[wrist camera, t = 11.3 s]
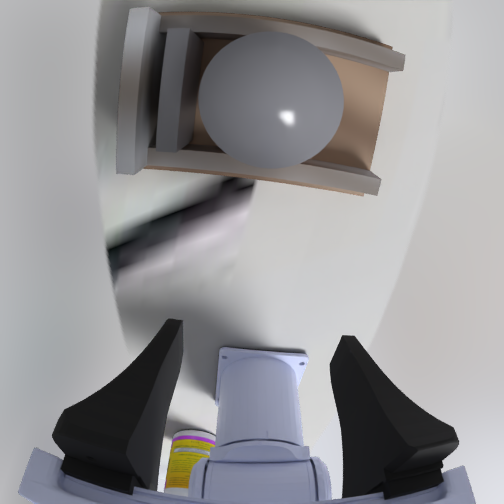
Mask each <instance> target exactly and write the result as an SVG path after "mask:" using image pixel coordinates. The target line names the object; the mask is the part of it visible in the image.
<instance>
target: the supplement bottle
mask: <svg viewBox="0 0 504 504" xmlns="http://www.w3.org/2000/svg"><path fill="white" fill-rule="evenodd" d="M215 440H216V437H215V436H214V435H212V434H209V433H207V432H203V431H197V430H184V431H180V432H177V433H176V434H175V435H174V436H173V440H172V445H171V451H170V457H169V463H168V469H167V475H166V482H165V488H164V493H168V494H173V495H179V496H186V497H188V488H189V480H190V475H191V471H192V468H193V466H194V465H195V464H196V463H197V462H198V461H199V460H200V459H201V458H209V457H210V447H215Z"/></svg>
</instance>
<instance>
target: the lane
mask: <svg viewBox="0 0 504 504" xmlns="http://www.w3.org/2000/svg"><path fill="white" fill-rule="evenodd" d="M171 28H190V29H191V30H192V31H193V32H194V33H195V34H196V35H197V36H198V37H199V38H200V39H201V40H202V41H203V42H204V46H203V53H202V60H201V68H200V76H199V84H198V93H197V102H196V111H195V121H194V132H193V140H192V141H191V142H190V143H188V144H187V145H186V146H184V147H183V148H182V149H180V150H179V151H178V152H177V153H172V152H157V151H156V136H157V121H158V108H159V97H160V86H161V77H162V68H163V60H164V52H165V45H166V38H167V31H168V29H171ZM267 31H268V32H282V33H288V34H291V35H295V36H297V37H300V38H302V39H304V40H306V41H308V42H310V43H311V44H313V45H314V46H316V47H317V48H318V49H319V50H321V51H322V52H323V53H324V54H325V55H326V56H327V57H328V59H329V60H330V61H331V63H332V64H333V66H334V67H335V69H336V71H337V73H338V75H339V78H340V80H341V84H342V88H343V95H344V108H343V114H342V118H341V121H340V125H339V127H338V129H337V131H336V133H335V135H334V136H333V138H332V139H331V141H330V142H329V143H328V144H327V145H326V146H325V147H324V148H323V149H322V150H321V151H320V152H319V153H318V154H316V155H315V156H313V157H312V158H310V159H308V160H306V161H304V162H302V163H299V164H297V165H294V166H290V167H285V168H277V169H272V168H259V167H255V166H251V165H247V164H245V163H242V162H240V161H238V160H236V159H234V158H232V157H231V156H229V155H228V154H227V153H225V152H224V151H223V150H222V149H221V148H219V147H218V146H217V144H216V143H215V142H214V141H213V140H212V138H211V137H210V135H209V134H208V132H207V131H206V128H205V126H204V124H203V122H202V119H201V115H200V110H199V100H198V96H199V87H200V83H201V79H202V77H203V74H204V72H205V70H206V68H207V66H208V64H209V63H210V61H211V60H212V59H213V58H214V56H215V55H216V54H217V53H218V52H219V51H220V50H221V49H222V48H224V47H225V46H226V45H228V44H229V43H231V42H233V41H234V40H236V39H238V38H240V37H243V36H246V35H249V34H253V33H257V32H267ZM404 62H405V55H404V54H402V53H399V52H396V51H393V50H392V47H391V46H389V45H386V44H383V43H380V42H377V41H373V40H370V39H367V38H364V37H360V36H357V35H353V34H350V33H346V32H342V31H338V30H334V29H330V28H326V27H322V26H317V25H312V24H307V23H302V22H297V21H291V20H285V19H279V18H272V17H264V16H256V15H246V14H235V13H219V12H159V13H157V12H156V11H155V10H153V9H152V8H151V7H139V8H130V11H129V17H128V23H127V29H126V35H125V42H124V50H123V58H122V67H121V76H120V88H119V101H118V118H117V149H116V174H130V175H135V174H136V173H137V172H139V171H140V170H141V169H157V170H170V171H182V172H194V173H204V174H214V175H223V176H232V177H241V178H249V179H257V180H265V181H272V182H279V183H286V184H293V185H300V186H306V187H312V188H319V189H325V190H331V191H336V192H342V193H348V194H353V195H358V196H364V193H366V194H371V195H376V196H377V194H378V191H379V187H380V183H381V179H380V178H379V177H378V176H376V175H375V174H374V173H372V172H371V171H370V167H371V163H372V159H373V154H374V150H375V145H376V140H377V136H378V131H379V126H380V121H381V115H382V110H383V105H384V99H385V93H386V87H387V81H388V75H389V72H395V71H403V69H404Z"/></svg>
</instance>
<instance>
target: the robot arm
mask: <svg viewBox="0 0 504 504" xmlns="http://www.w3.org/2000/svg"><path fill="white" fill-rule="evenodd" d="M182 356H183V320H176V319H168V320H166V322H165V323H164V325H163V326H162V328H161V329H160V331H159V332H158V333H157V335H156V336H155V337H154V338H153V340H152V341H151V342H150V343H149V345H148V346H147V347H146V348H145V349H144V350H143V352H142V353H141V354H140V355H139V356H138V357H137V358H136V359H135V360H134V361H133V362H132V363H131V364H130V365H129V366H128V367H127V368H126V369H125V370H124V371H123V372H122V373H121V374H119V375H118V376H117V377H116V378H115V379H113V380H112V381H111V382H110V383H108V384H107V385H106V386H104V387H103V388H102V389H100V390H99V391H97V392H95V393H94V394H92V395H91V396H89V397H88V398H86V399H84V400H82V401H80V402H78V403H77V404H75V405H73V406H71V407H69V408H67V409H65V410H64V411H63V413H62V414H61V416H60V418H59V419H58V422H57V424H56V427H55V429H54V431H53V434H52V438H53V440H54V441H55V443H56V444H57V445H58V447H59V448H60V449H61V450H62V451H63V452H64V454H65V457H64V460H62V459H60V458H59V457H57V456H54V455H52V454H50V453H47V452H45V451H42V450H40V449H38V448H34V449H33V452H32V454H31V457H30V459H29V462H28V465H27V468H26V470H25V473H24V476H23V479H22V482H21V484H20V487H19V491H18V493H19V495H21V496H23V497H24V498H26V499H27V500H29V501H30V502H32V503H34V504H476V502H475V499H474V495H473V492H472V488H471V485H470V482H469V479H468V476H467V473H466V470H465V467H464V466H460V467H457V468H454V469H451V470H448V471H446V472H444V473H441V468H443V463H442V460H444V459H445V458H446V457H447V456H448V455H450V454H451V453H452V452H453V451H454V450H455V449H456V448H457V447H458V445H459V440H458V437H457V435H456V432H455V430H454V428H453V427H452V426H450V425H448V424H446V423H444V422H442V421H440V420H438V419H436V418H435V417H434V416H432V415H430V414H429V413H427V412H426V411H424V410H423V409H422V408H420V407H419V406H418V405H416V404H415V403H414V402H413V401H412V400H410V399H409V398H408V397H407V396H406V395H405V394H403V392H401V391H400V390H399V389H398V388H397V387H396V386H395V385H394V384H393V383H392V382H391V380H390V379H389V378H388V377H387V376H386V375H385V374H384V373H383V371H382V370H381V369H380V368H379V367H378V365H377V364H376V363H375V362H374V360H373V359H372V358H371V357H370V355H369V354H368V353H367V351H366V350H365V349H364V348H363V346H362V345H361V344H360V342H359V341H358V340H357V339H356V337H355V336H347V335H342V337H341V340H340V342H339V344H338V347H337V349H336V351H335V353H334V356H333V358H332V360H331V362H330V376H331V385H332V389H333V394H334V398H335V403H336V407H337V412H338V416H339V421H340V427H341V435H342V448H343V491H342V499H334V500H332V494H331V482H330V476H329V471H328V468H327V466H326V465H325V463H324V462H322V461H321V460H320V458H318V457H310V452H309V446H304V441H303V432H302V422H301V413H300V404H299V395H298V386H299V383H300V381H301V378H302V376H303V373H304V371H305V368H306V365H307V363H308V360H309V357H308V355H307V354H300V353H284V352H271V351H259V350H248V349H238V348H228V347H223V348H221V349H220V351H219V362H218V373H217V385H216V397H215V405H216V406H218V418H217V429H216V440H215V447H210V457H209V458H201V459H200V460H199V461H198V462H197V463H196V464H195V465H194V466H193V468H192V471H191V475H190V480H189V488H188V497H186V496H179V495H173V494H168V493H162V492H157V485H158V475H159V466H160V457H161V450H162V443H163V436H164V430H165V424H166V418H167V414H168V410H169V406H170V403H171V400H172V396H173V393H174V389H175V386H176V383H177V379H178V376H179V372H180V367H181V362H182Z"/></svg>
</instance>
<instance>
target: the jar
mask: <svg viewBox="0 0 504 504" xmlns="http://www.w3.org/2000/svg"><path fill="white" fill-rule="evenodd" d="M198 100H199V110H200V115H201V119H202V122H203V124H204V126H205V128H206V131H207V132H208V134H209V135H210V137H211V138H212V140H213V141H214V142H215V143H216V144H217V146H218V147H219V148H221V149H222V150H223V151H224V152H225V153H227V154H228V155H229V156H231V157H232V158H234V159H236V160H238V161H240V162H242V163H245V164H247V165H251V166H255V167H259V168H272V169H277V168H285V167H290V166H294V165H297V164H299V163H302V162H304V161H306V160H308V159H310V158H312V157H313V156H315V155H316V154H318V153H319V152H320V151H321V150H322V149H323V148H324V147H325V146H326V145H327V144H328V143H329V142H330V141H331V139H332V138H333V136H334V135H335V133H336V131H337V129H338V127H339V125H340V121H341V118H342V114H343V108H344V95H343V88H342V84H341V80H340V78H339V75H338V73H337V71H336V69H335V67H334V66H333V64H332V63H331V61H330V60H329V59H328V57H327V56H326V55H325V54H324V53H323V52H322V51H321V50H319V49H318V48H317V47H316V46H314V45H313V44H311V43H310V42H308V41H306V40H304V39H302V38H300V37H297V36H295V35H291V34H288V33H282V32H268V31H267V32H257V33H253V34H249V35H246V36H243V37H240V38H238V39H236V40H234V41H233V42H231V43H229V44H228V45H226V46H225V47H224V48H222V49H221V50H220V51H219V52H218V53H217V54H216V55H215V56H214V58H213V59H212V60H211V61H210V63H209V64H208V66H207V68H206V70H205V72H204V74H203V77H202V79H201V83H200V87H199V96H198Z"/></svg>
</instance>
